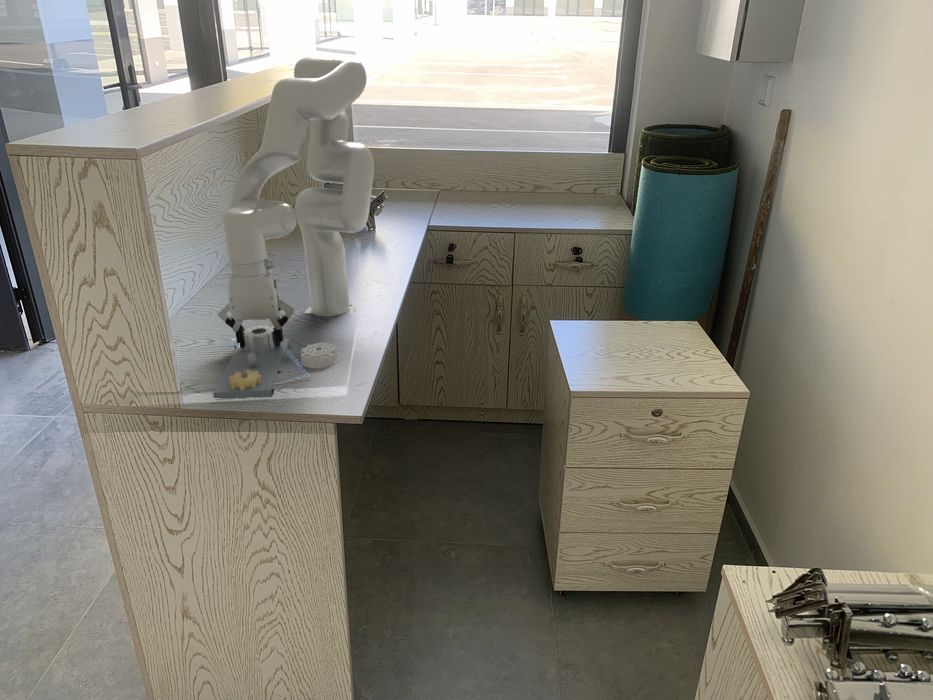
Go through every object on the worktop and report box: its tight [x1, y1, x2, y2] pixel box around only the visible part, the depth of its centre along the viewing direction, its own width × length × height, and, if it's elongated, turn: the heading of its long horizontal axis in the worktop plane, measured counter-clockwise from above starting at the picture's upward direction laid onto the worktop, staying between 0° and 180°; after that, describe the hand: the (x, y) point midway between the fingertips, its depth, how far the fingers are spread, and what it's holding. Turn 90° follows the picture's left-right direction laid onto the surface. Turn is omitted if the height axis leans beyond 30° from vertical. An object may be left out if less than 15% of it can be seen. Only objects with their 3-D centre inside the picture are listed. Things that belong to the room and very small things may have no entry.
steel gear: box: [243, 324, 277, 355], centre depth 152 cm, size 7×7×4 cm
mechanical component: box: [300, 341, 339, 369], centre depth 147 cm, size 10×4×10 cm
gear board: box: [212, 338, 291, 399], centre depth 145 cm, size 25×11×4 cm, turn 5°
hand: (260, 344), depth 153 cm, fingers closed on steel gear, 7 cm apart
